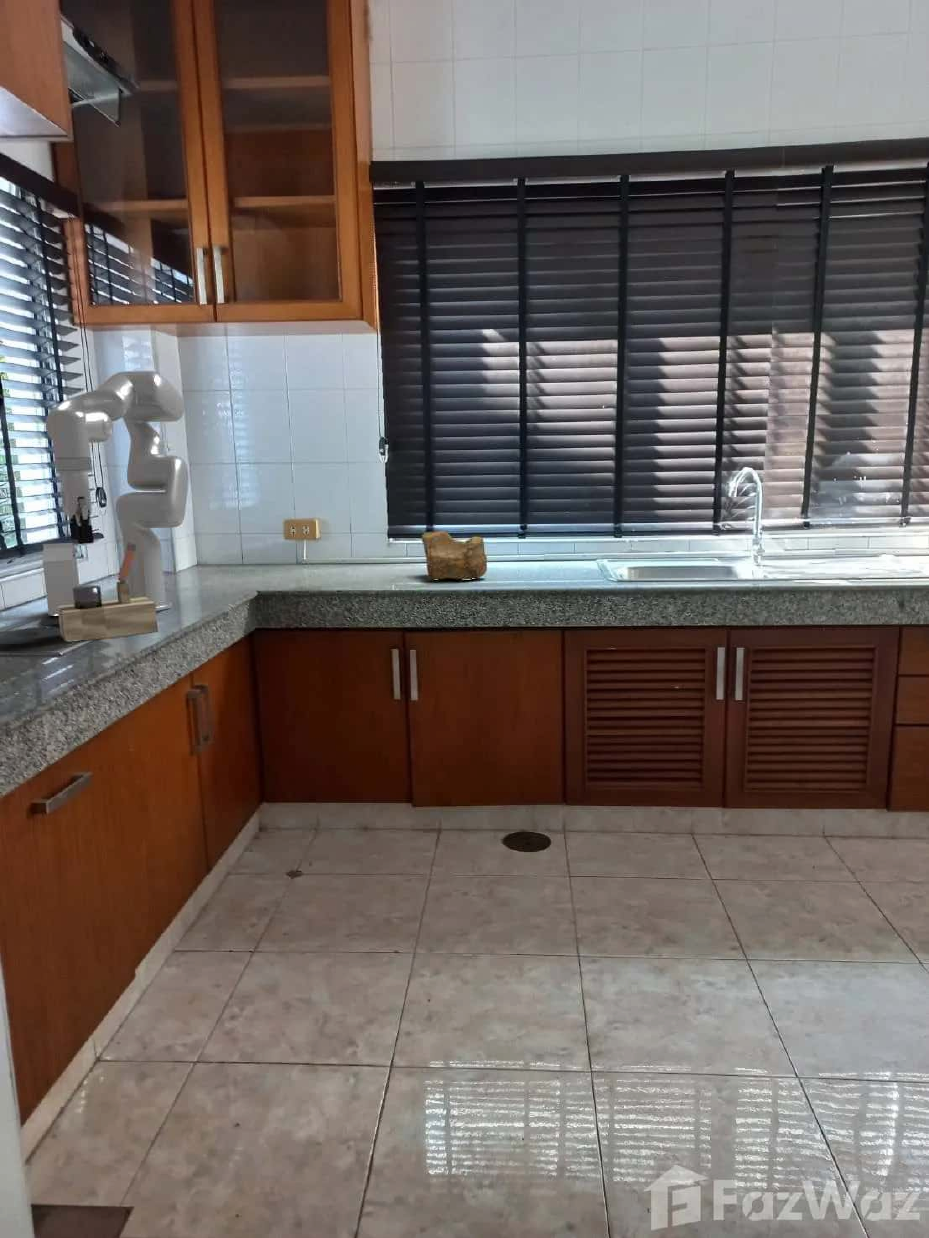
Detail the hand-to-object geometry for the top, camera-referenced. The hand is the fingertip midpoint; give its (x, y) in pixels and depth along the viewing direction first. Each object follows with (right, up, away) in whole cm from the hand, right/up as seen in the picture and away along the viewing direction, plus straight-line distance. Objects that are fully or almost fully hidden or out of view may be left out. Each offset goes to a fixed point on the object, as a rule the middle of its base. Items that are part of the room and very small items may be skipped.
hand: (82, 541), depth 195 cm
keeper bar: (+8, -5, +6) cm, 10 cm away
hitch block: (+4, -21, +6) cm, 23 cm away
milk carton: (-18, -17, +30) cm, 39 cm away
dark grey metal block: (0, -21, +4) cm, 22 cm away
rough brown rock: (+83, -5, +79) cm, 115 cm away
